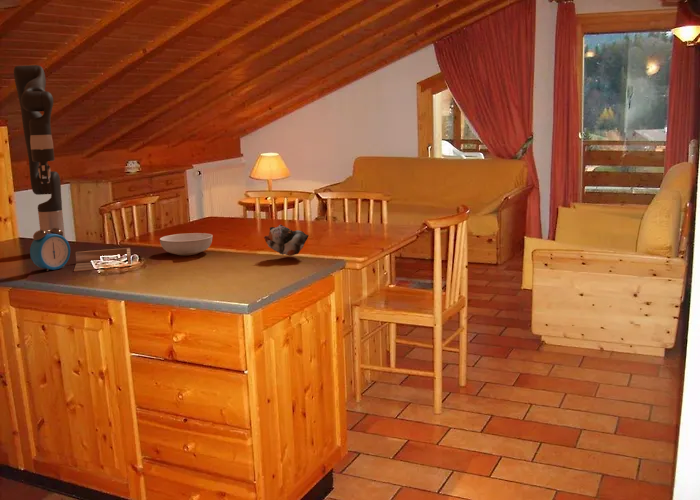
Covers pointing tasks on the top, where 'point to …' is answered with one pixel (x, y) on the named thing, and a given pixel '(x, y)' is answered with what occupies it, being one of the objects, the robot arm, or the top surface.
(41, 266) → the alarm clock
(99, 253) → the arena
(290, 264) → the top surface
